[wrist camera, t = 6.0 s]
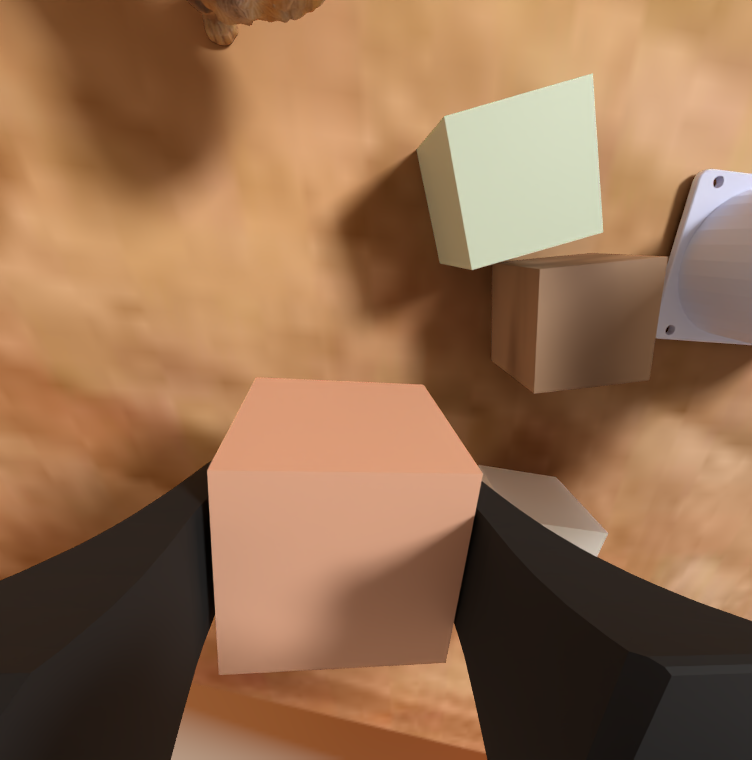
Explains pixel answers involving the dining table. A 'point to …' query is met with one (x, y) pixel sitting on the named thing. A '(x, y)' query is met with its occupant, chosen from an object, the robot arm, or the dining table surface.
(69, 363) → the dining table surface
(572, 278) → the walnut block
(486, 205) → the sage block
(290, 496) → the terracotta block
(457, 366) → the dining table surface
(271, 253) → the dining table surface
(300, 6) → the lion figurine
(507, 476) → the pale grey block
